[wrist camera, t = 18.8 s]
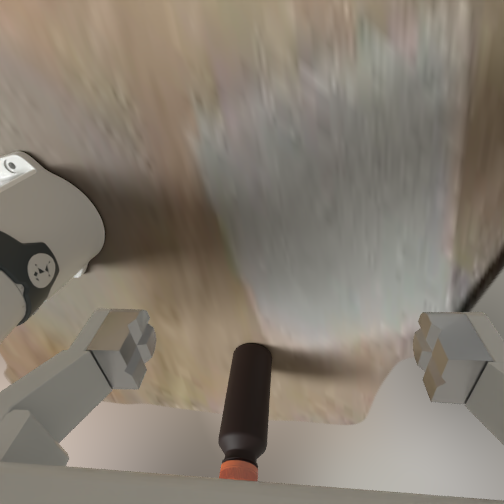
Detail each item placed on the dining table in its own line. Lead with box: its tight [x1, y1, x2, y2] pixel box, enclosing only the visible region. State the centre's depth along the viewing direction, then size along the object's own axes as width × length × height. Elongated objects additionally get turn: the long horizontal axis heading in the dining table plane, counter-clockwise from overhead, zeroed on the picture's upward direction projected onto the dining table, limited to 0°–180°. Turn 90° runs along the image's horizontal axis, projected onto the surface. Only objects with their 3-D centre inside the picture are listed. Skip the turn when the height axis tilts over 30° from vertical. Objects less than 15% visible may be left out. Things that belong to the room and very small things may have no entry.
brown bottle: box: [219, 344, 272, 481], centre depth 49 cm, size 7×7×20 cm
